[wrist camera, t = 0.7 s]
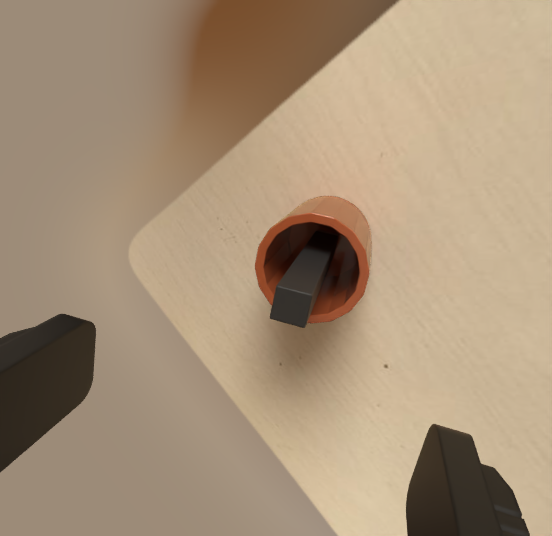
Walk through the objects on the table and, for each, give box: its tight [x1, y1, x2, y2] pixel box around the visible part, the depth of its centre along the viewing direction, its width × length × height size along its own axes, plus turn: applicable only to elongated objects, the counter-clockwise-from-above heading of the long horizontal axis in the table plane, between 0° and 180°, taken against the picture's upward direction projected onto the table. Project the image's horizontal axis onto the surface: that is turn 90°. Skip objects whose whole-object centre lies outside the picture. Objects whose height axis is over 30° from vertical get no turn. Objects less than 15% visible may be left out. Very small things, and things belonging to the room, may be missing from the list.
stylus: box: [270, 230, 338, 328], centre depth 24 cm, size 2×2×13 cm
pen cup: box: [255, 196, 372, 323], centre depth 27 cm, size 6×6×8 cm
